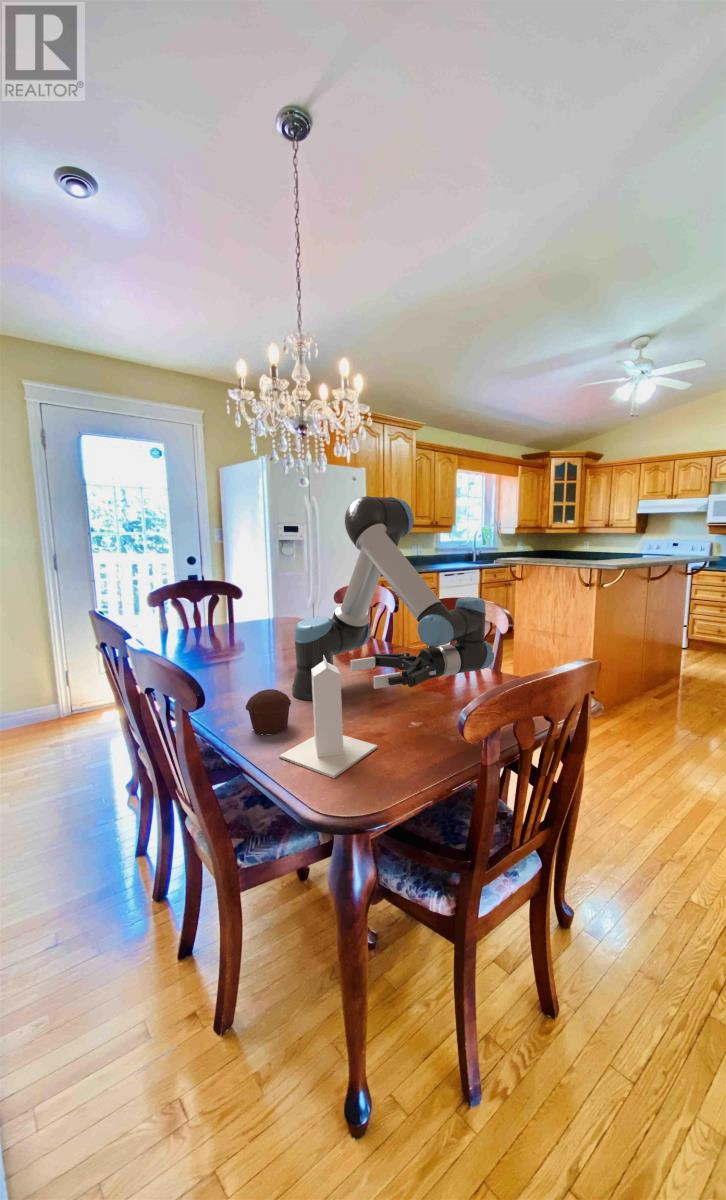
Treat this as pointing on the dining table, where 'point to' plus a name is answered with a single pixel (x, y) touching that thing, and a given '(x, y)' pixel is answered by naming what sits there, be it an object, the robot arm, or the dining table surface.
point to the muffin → (269, 711)
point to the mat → (330, 764)
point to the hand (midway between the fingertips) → (361, 673)
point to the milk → (327, 709)
